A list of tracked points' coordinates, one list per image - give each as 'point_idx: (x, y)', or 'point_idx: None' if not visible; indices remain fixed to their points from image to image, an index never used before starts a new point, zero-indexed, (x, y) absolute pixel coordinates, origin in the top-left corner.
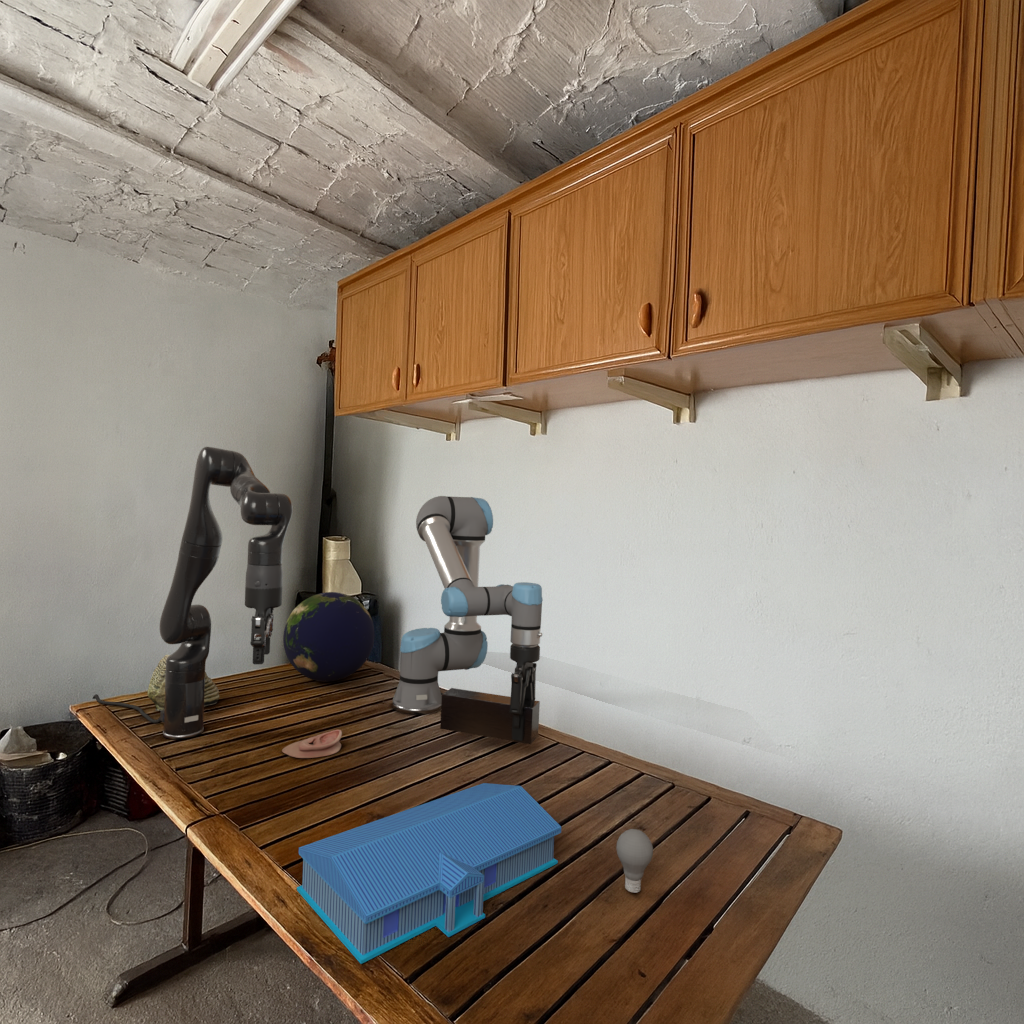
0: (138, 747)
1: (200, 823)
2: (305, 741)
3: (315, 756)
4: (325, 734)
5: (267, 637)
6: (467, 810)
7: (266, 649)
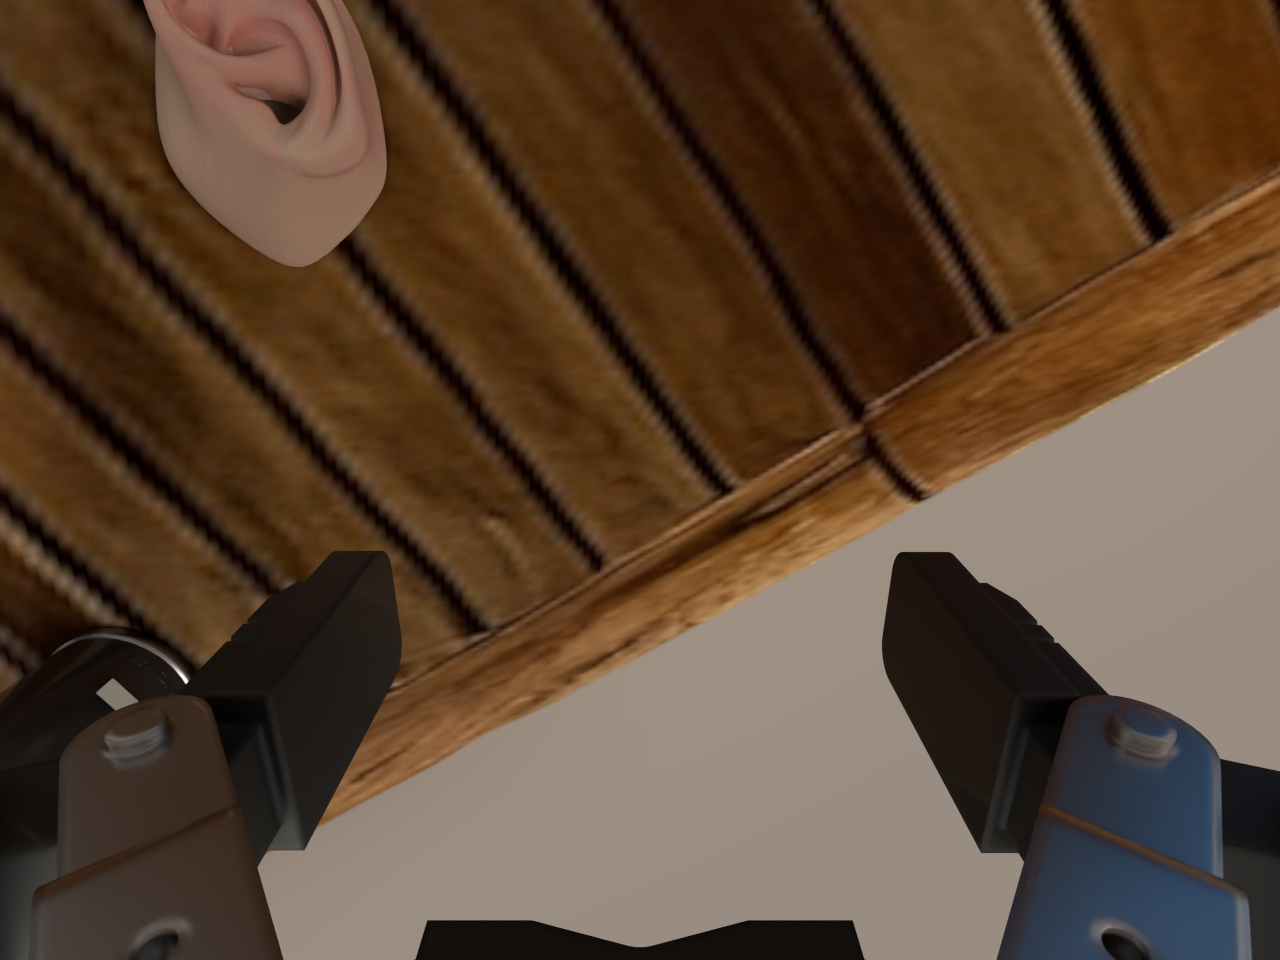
0: None
1: (917, 468)
2: (287, 140)
3: (371, 82)
4: (176, 20)
5: (259, 741)
6: None
7: (365, 614)
